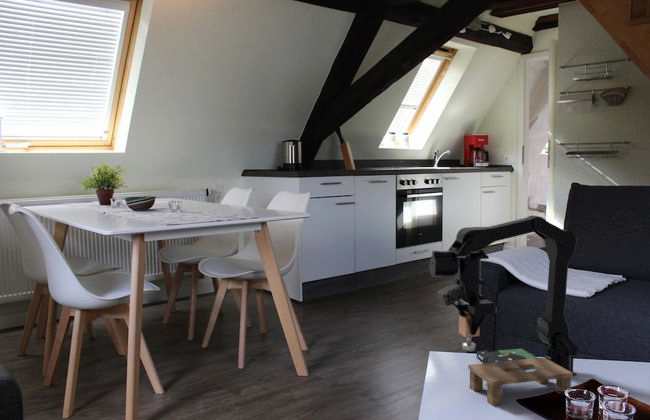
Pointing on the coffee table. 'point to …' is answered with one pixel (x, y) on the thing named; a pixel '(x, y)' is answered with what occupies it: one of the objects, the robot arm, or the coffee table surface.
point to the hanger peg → (466, 332)
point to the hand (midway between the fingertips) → (469, 332)
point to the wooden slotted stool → (516, 375)
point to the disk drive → (503, 355)
